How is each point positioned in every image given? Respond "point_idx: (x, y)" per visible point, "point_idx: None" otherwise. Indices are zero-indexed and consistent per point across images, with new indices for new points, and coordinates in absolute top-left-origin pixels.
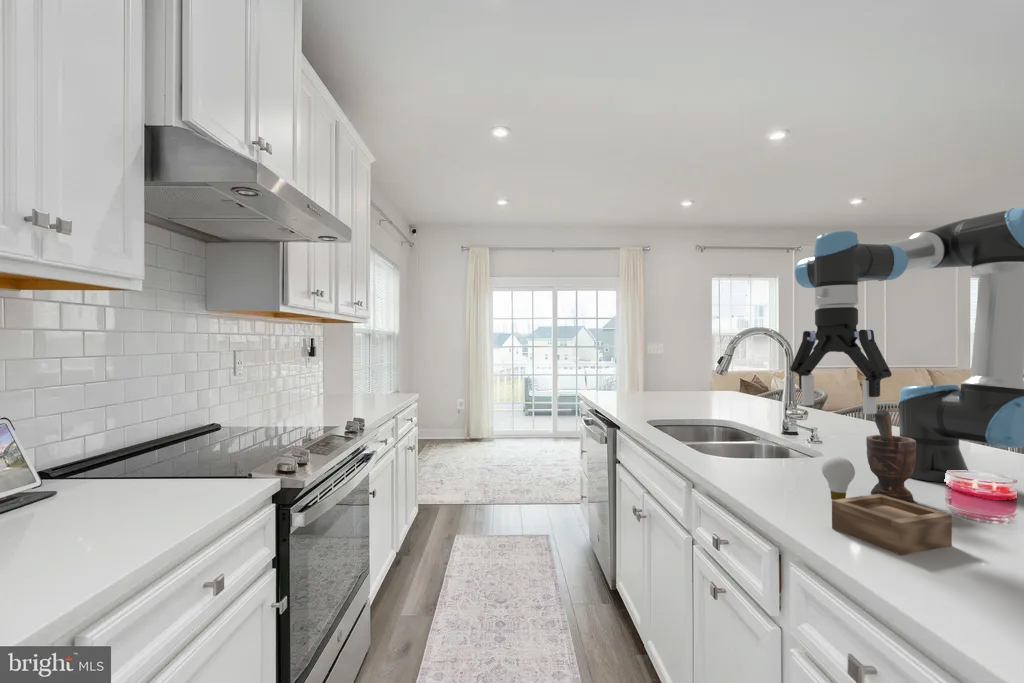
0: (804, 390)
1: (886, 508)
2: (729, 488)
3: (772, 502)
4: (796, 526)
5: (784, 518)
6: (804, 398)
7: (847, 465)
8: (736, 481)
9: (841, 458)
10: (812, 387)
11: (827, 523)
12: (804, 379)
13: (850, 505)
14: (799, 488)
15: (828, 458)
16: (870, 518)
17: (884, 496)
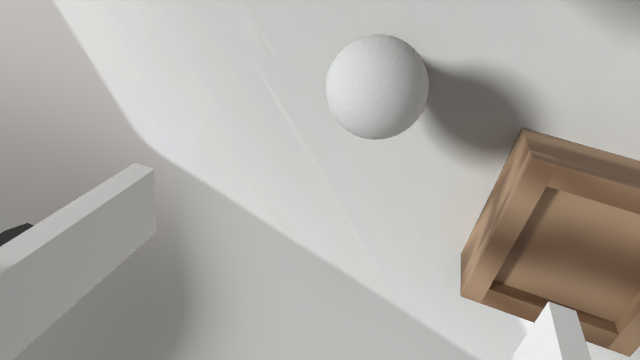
0: (87, 290)
1: (565, 215)
2: (192, 163)
3: (302, 186)
4: (410, 286)
5: (373, 261)
6: (127, 255)
7: (411, 115)
8: (154, 95)
9: (383, 112)
10: (61, 244)
11: (442, 231)
12: (13, 355)
13: (506, 307)
14: (260, 7)
15: (343, 118)
16: None
17: (552, 176)
